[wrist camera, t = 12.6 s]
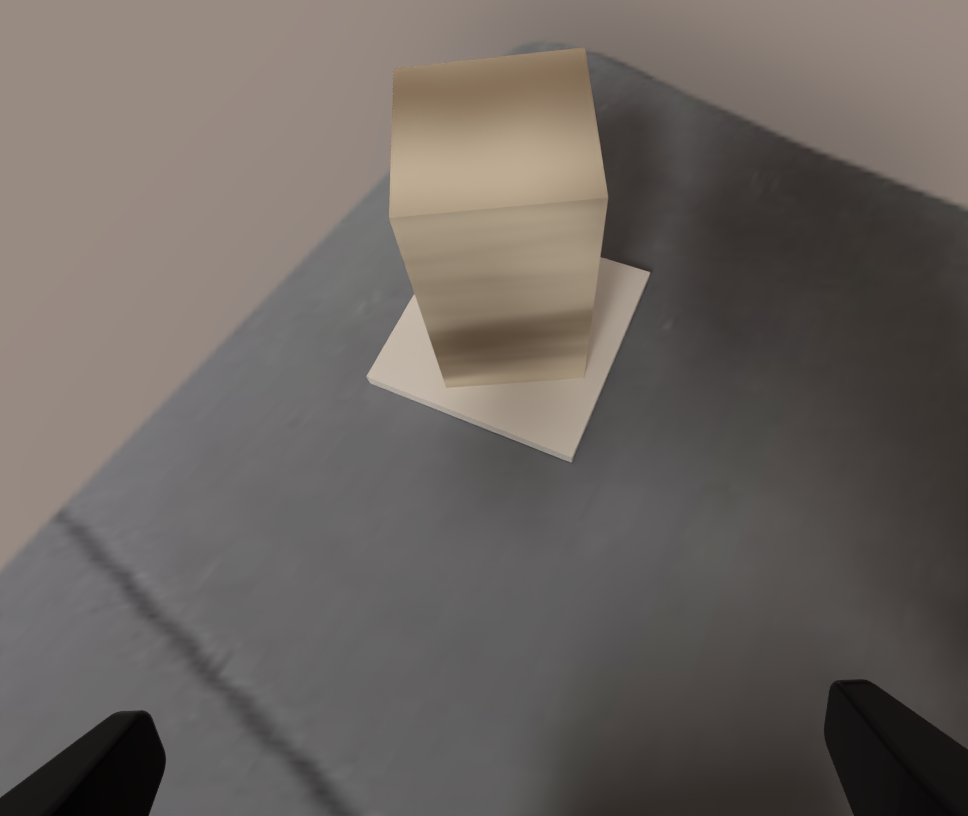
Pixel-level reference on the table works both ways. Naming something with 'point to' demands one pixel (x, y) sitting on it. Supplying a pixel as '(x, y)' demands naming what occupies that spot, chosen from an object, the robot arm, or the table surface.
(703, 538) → the table surface
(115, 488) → the table surface
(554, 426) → the cream tile
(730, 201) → the table surface
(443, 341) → the brass block
